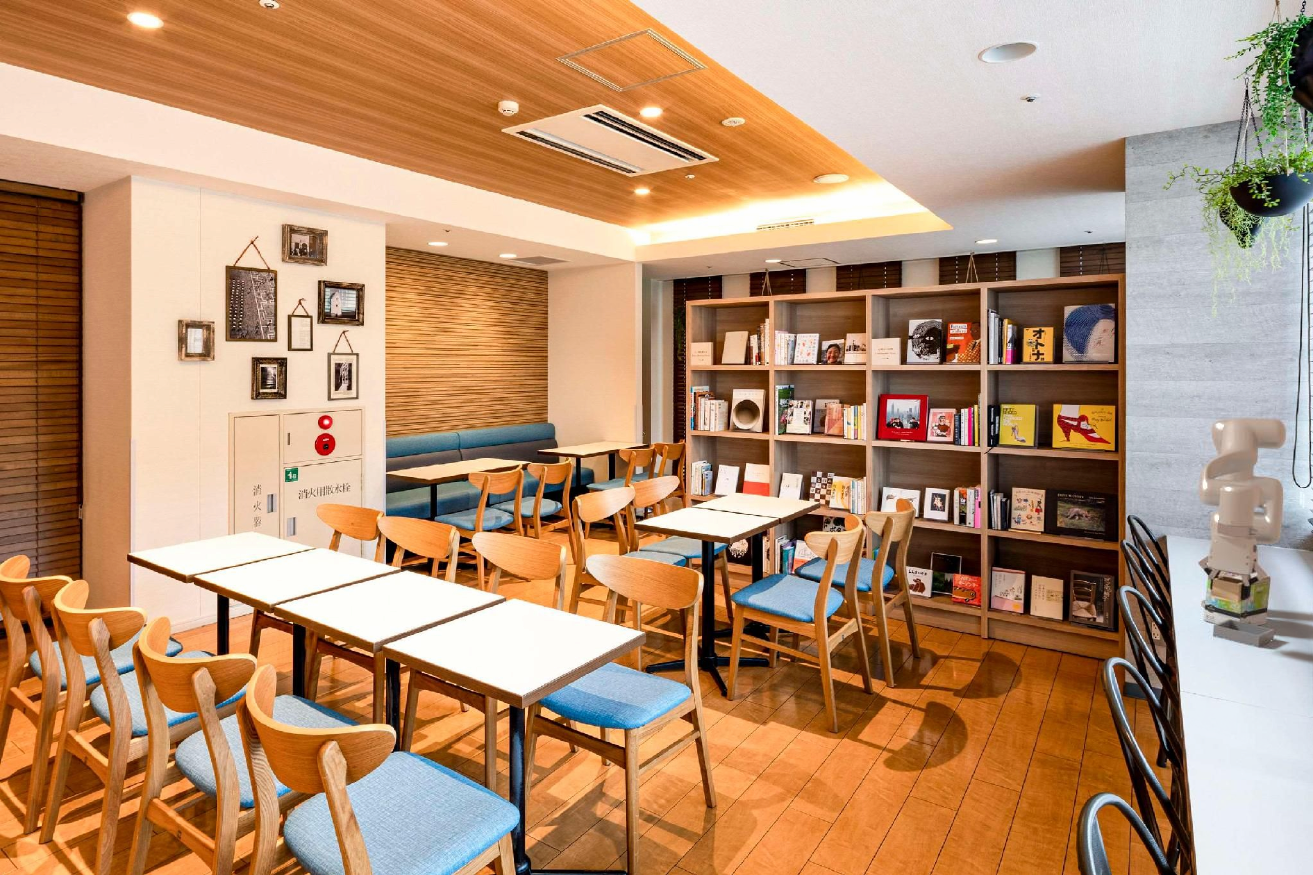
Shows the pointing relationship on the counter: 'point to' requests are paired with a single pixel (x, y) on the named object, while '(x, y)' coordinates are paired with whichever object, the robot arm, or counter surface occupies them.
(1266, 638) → the grey square tray
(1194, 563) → the counter surface
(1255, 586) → the tea box
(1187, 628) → the counter surface
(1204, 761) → the counter surface
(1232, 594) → the oak crate
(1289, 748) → the counter surface
